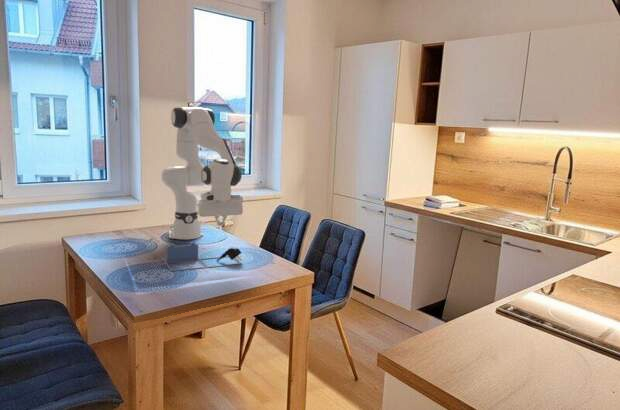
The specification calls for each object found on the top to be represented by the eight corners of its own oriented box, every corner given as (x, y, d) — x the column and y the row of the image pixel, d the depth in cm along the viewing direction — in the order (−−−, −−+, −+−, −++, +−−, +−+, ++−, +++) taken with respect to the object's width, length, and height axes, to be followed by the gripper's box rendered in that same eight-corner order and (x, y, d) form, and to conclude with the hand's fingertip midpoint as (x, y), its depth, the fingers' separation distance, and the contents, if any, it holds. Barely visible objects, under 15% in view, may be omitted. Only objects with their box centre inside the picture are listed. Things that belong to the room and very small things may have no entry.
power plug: (218, 258, 208) (236, 243, 206) (228, 270, 208) (246, 256, 205) (213, 261, 203) (232, 246, 200) (223, 274, 203) (242, 259, 200)
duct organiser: (163, 261, 201) (163, 244, 200) (231, 255, 217) (231, 239, 215) (170, 271, 188) (170, 252, 187) (242, 264, 203) (242, 246, 202)
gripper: (240, 193, 208) (239, 222, 211) (197, 194, 199) (196, 224, 201) (245, 195, 203) (244, 225, 205) (200, 196, 193) (200, 227, 195)
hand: (220, 225), depth 203 cm, fingers closed
